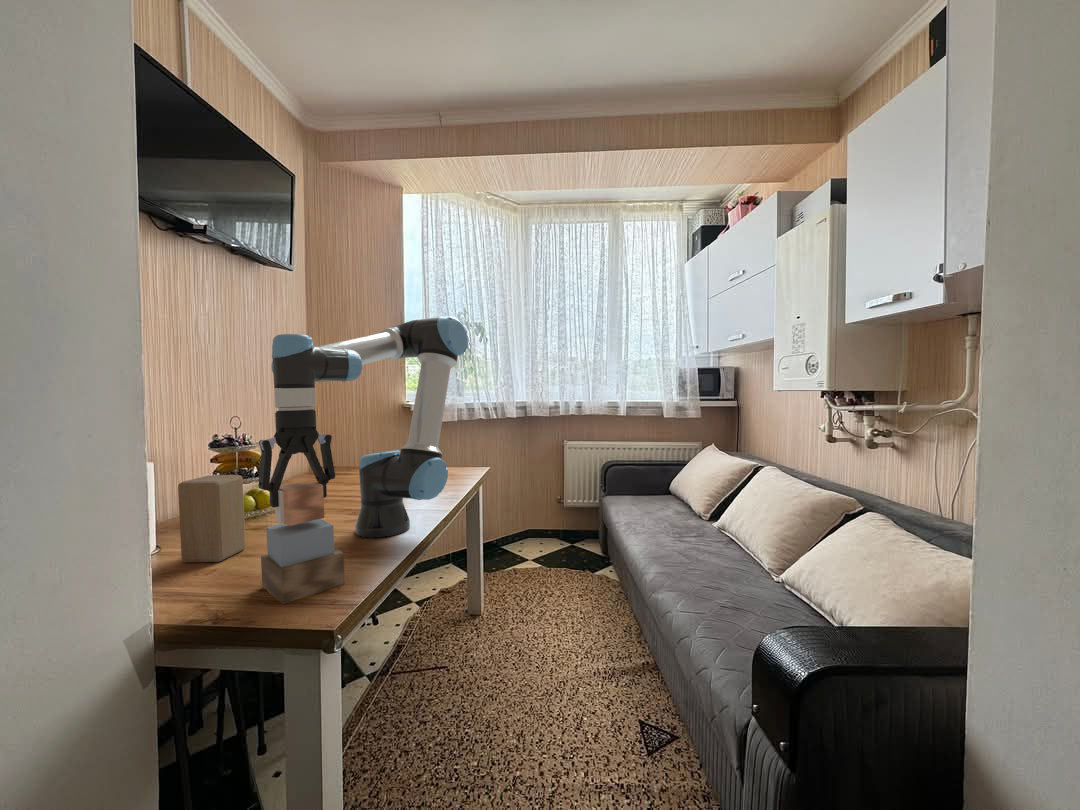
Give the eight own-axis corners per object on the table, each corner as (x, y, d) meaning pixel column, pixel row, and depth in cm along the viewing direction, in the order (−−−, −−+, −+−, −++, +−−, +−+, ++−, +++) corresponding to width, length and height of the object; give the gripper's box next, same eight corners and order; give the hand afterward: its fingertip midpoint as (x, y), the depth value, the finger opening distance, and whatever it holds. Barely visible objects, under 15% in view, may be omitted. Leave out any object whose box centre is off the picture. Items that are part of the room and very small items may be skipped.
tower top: (317, 543, 103) (316, 516, 102) (334, 553, 95) (333, 525, 95) (267, 555, 95) (266, 527, 95) (281, 567, 88) (280, 537, 88)
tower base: (320, 570, 104) (319, 540, 104) (344, 584, 96) (343, 552, 96) (262, 588, 95) (260, 555, 95) (283, 605, 87) (281, 569, 87)
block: (210, 549, 120) (207, 474, 119) (247, 549, 120) (244, 474, 119) (179, 564, 110) (175, 482, 109) (219, 563, 110) (215, 481, 109)
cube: (310, 512, 100) (309, 481, 100) (324, 517, 96) (323, 485, 95) (276, 519, 95) (274, 486, 95) (288, 525, 90) (287, 491, 90)
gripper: (335, 406, 105) (339, 505, 105) (234, 411, 90) (239, 525, 90) (350, 407, 100) (354, 510, 100) (246, 411, 85) (252, 533, 85)
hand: (300, 517), depth 95 cm, fingers closed on cube, 7 cm apart
